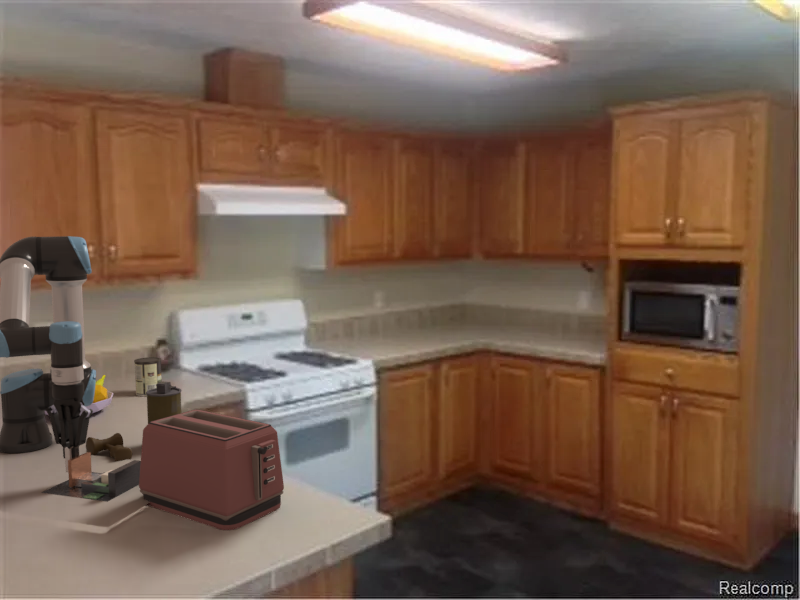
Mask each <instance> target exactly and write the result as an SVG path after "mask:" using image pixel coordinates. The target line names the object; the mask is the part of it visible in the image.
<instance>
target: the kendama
mask: <svg viewBox="0 0 800 600" xmlns="http://www.w3.org/2000/svg"><path fill="white" fill-rule="evenodd" d="M85 450H86V452H91V456H96V455H98V454H99V453H100V452H102V451H107V450H108V452H109V456H110V458H111V459H112V458H113V459H114V462H120V461H125V460H131V459H132V458H133V450H132V449H131V448H130V447H127V446H124V439H123V435H122V434H121V433H120V432H116V433H114V434H112V435H111V436H110V437H107V438H102V439H99V438H94V437H92V436H87V437H86V442H85ZM131 461H132V460H131Z"/></svg>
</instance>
